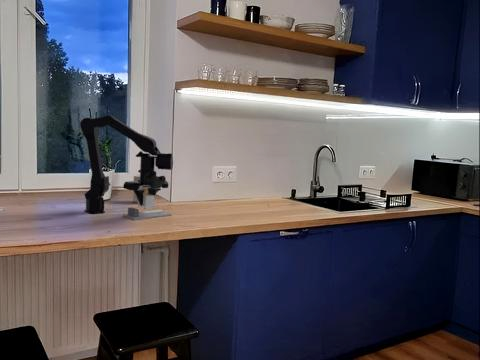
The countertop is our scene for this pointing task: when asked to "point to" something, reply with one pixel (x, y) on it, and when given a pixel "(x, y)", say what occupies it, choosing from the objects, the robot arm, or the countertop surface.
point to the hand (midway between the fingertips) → (145, 205)
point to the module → (147, 201)
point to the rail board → (144, 214)
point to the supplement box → (135, 199)
